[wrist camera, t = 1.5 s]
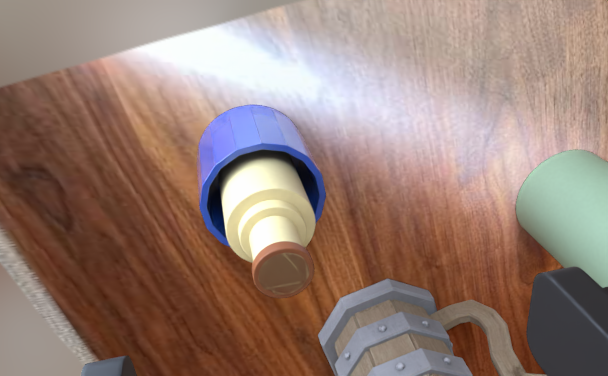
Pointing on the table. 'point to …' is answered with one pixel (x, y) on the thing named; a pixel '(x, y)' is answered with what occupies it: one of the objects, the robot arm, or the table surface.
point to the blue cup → (244, 139)
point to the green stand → (569, 210)
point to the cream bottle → (269, 220)
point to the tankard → (408, 334)
